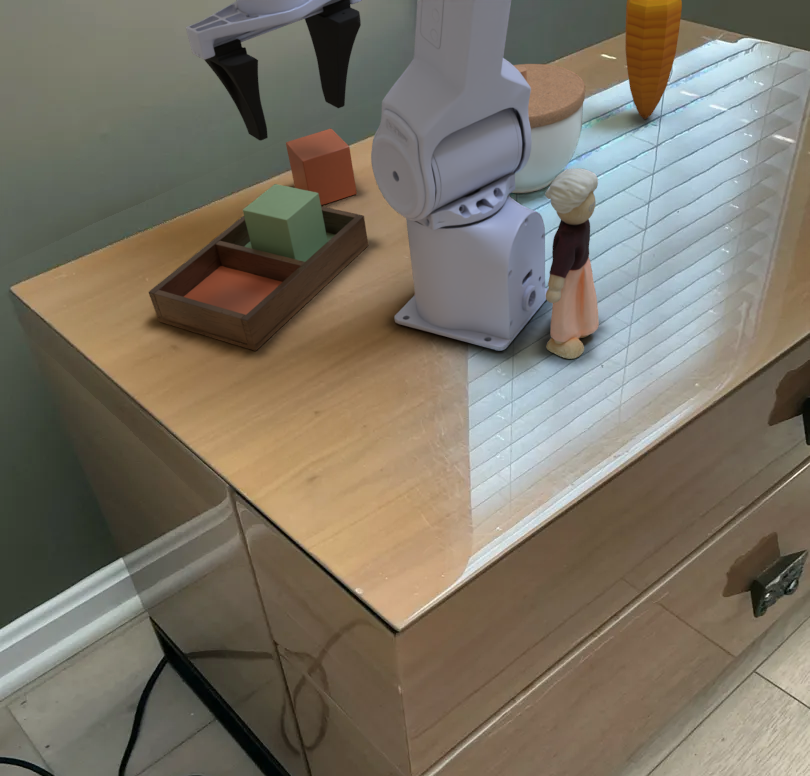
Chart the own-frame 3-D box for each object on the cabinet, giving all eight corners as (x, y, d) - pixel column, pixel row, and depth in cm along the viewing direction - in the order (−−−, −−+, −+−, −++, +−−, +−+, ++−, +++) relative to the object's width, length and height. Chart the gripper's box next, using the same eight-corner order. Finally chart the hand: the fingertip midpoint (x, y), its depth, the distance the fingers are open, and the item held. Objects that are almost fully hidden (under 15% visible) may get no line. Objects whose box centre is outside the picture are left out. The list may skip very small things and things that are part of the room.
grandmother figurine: (594, 368, 66) (602, 199, 57) (539, 366, 67) (538, 199, 58) (601, 305, 71) (610, 140, 62) (550, 304, 72) (551, 140, 63)
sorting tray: (368, 245, 81) (364, 215, 79) (255, 351, 72) (247, 320, 70) (275, 223, 85) (269, 194, 83) (158, 321, 76) (147, 291, 74)
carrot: (609, 114, 92) (618, -61, 81) (656, 102, 93) (671, -73, 82) (633, 135, 89) (645, -45, 78) (681, 122, 89) (700, -58, 78)
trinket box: (523, 219, 81) (521, 109, 74) (439, 182, 87) (429, 76, 80) (607, 170, 85) (613, 61, 78) (521, 137, 91) (519, 34, 84)
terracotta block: (339, 174, 90) (331, 127, 87) (357, 194, 87) (349, 146, 84) (294, 188, 89) (285, 142, 86) (311, 208, 86) (302, 161, 83)
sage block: (328, 242, 80) (318, 192, 77) (297, 270, 78) (286, 219, 75) (285, 232, 82) (274, 183, 79) (254, 259, 80) (241, 209, 76)
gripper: (315, -101, 74) (342, 77, 84) (149, -48, 69) (199, 135, 79) (366, -86, 70) (388, 100, 80) (193, -28, 65) (240, 162, 75)
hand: (297, 119), depth 79 cm, fingers open, 7 cm apart
